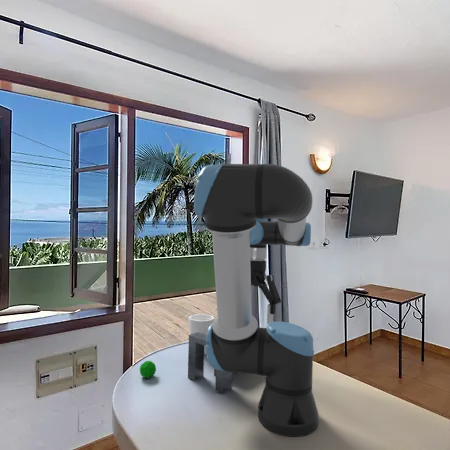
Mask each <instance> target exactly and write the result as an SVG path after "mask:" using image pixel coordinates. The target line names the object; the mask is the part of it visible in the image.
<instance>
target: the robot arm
mask: <svg viewBox="0 0 450 450" xmlns="http://www.w3.org/2000/svg"><path fill="white" fill-rule="evenodd" d="M193 196H194V197H193V208H194V209H193V210H194V212H195V215H196V217H198V218H199V219H204V227H205V229H206V230H207V231H209V232H210V233H211V234H212V235H211V236H212V237H211V238H212V252H213V253H212V254H213V267H214V281H215V283H214V284H215V295H216V296H215V297H216V309H217V310H216V311H217V316H216V317H214V321H213V324H211V325H210V326H209V328H208V331H207V336H206V343H207V345H206V354H205V355H206V358H207V361H208V364H209V365H210V367H211V368H212V369H213V370H214V369H216V370H221V371H224V372H234V373H238V374H245V375H253V376H261V377H265V386H264V387H263V391H262V394H261V396H260V398H259V402H258V405H257V418H258V421H259V422H260V424H261V425H262V426H263V427H265V428H266V429H267V430H269V431H271V432H273V433H276V434H279V435H283V436H287V437H302V436H307V435H309V434H312V433H313V432H314V431H316V430H317V428H318V426H319V411H318V407H317V404H316V401H315V397H314V393H313V370H314V369H313V358H314V357H313V356H314V354H315V349H314V338H313V336H312V334H311V332H310V331H308V330H307V329H306V328H304V327H303V326H300V325H297V324H294V323H291V322H286V321H274V315H275V314H276V310H277V309H276V308H277V307H276V305H278V304H281V303H282V299H281V296H280V294H279V292H278V288H277V286H276V284H275V279H274V275H273V274H268V275H267V274H266V271H267V261H266V259H267V251H268V250H267V249H268V248H267V246H268V245H269V246H270V245H271V246H293V247H294V246H296V247H307V246H310V244H311V236H312V226H311V224H310V222H306V221H307V217H308V215H310V213H311V211H312V208H313V194H312V191H311V189H310V187H309V185H308V184H307V182H306V181H305V180H304V179H303V178H302V177H301V176H300V175H299V174H298V173H295V171H292V170H291V169H289V168H287V167H284V166H281V165H279V164H275V163H264V164H262V163H261V164H260V163H246V164H245V163H225V162H224V163H220V164H217V163H216V164H209V165H205V166H204V167H203V168H202V169H201V171H200V172H199V174H198V177H197V179H196V182H195V188H194V195H193ZM268 219H276V220H277V221H268ZM266 282H267V283H266ZM253 286H254V287H258V288H259V289H260V290H261V291H262V293H263V295H264V297H265V298H266V300H267V302H268V303H269V304H267V310H266V312H267V314H266V315H267V317H266V324H267V325H266V327H260V326H259V323H258V320H257V319H256V316H254V315H253V314H252V313H253V312H252V287H253Z"/></svg>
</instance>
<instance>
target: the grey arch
mask: <svg viewBox="0 0 450 450" xmlns="http://www.w3.org/2000/svg"><path fill="white" fill-rule="evenodd" d="M206 336H207V335H205V334H202V333H199V332H197V333H194V334H191V335H190V334H189V335H188V354H187V355H188V359H187V360H188V362H187V378H188V379H189V380H192V381H193V382H196V381H198V380H199V379H202V378H203V377H204V376H205V375H204V372H205V370H204V369H205V366H204V365H205V355H204V346H206V345H207V343H206ZM214 382H215V384H214V385H215V388H214V390H215V391H216V392H218V393H220V394H223V395H224V394H225V393H227V392H230V391H231V390H232V389H233V377H232V372H224V371H221V370H216V376H215V381H214Z"/></svg>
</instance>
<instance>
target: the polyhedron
mask: <svg viewBox="0 0 450 450" xmlns="http://www.w3.org/2000/svg"><path fill="white" fill-rule="evenodd" d="M156 367H157V366H156V364H155V362H153V361H152V360H146V361H144V362H143V363H142V364H141V365H140V367H139V373H140V375H141V377H142V378H145V379H150V378H151V377H153V376H154V375H155V374H156V371H157V368H156Z"/></svg>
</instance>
